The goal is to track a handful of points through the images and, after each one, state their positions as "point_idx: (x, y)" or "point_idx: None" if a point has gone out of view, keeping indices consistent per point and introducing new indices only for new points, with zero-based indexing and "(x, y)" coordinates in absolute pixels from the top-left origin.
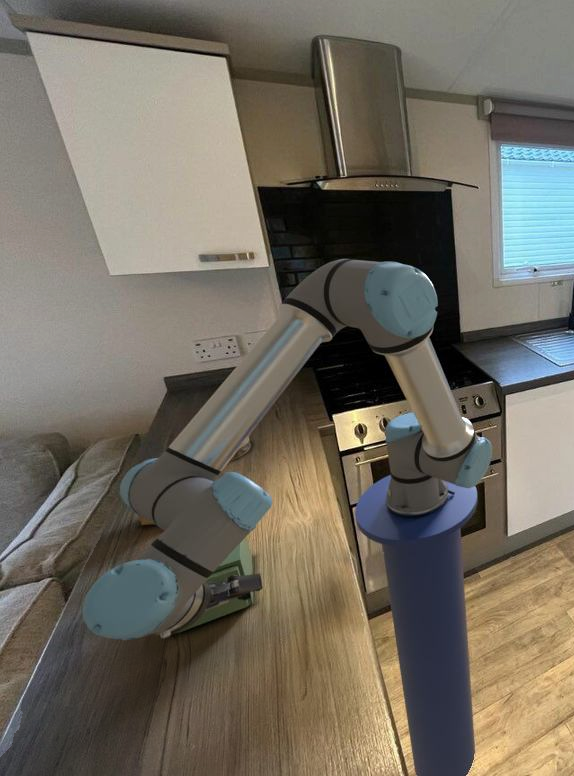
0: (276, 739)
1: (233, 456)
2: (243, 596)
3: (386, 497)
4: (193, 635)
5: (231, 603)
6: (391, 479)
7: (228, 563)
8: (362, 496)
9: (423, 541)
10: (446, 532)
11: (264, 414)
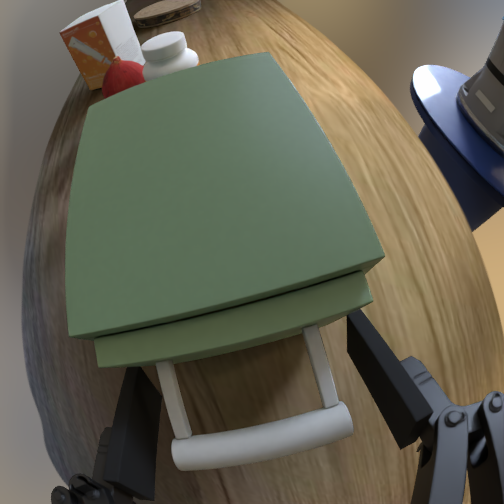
0: None
1: (184, 13)
2: (421, 446)
3: (467, 104)
4: (209, 369)
5: (297, 333)
6: (495, 85)
7: (339, 271)
8: (415, 83)
9: None
10: None
11: None
